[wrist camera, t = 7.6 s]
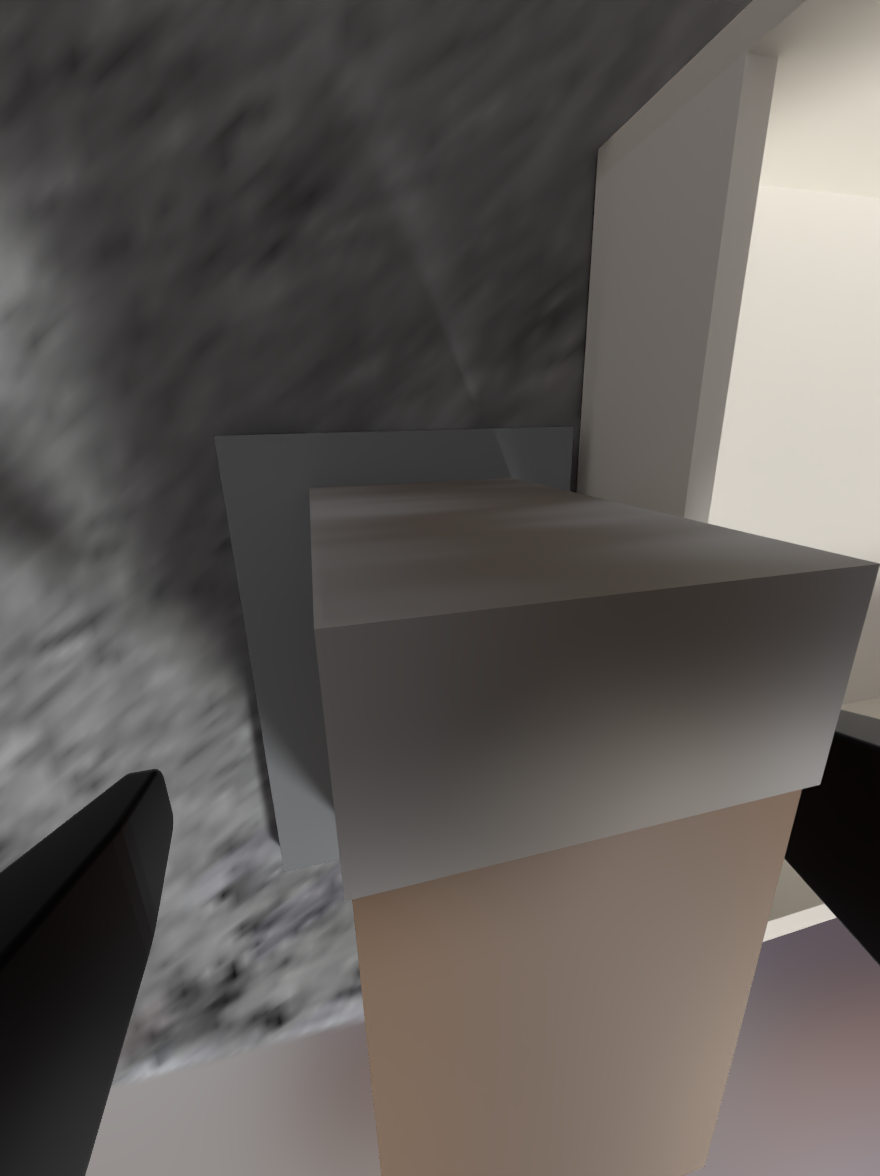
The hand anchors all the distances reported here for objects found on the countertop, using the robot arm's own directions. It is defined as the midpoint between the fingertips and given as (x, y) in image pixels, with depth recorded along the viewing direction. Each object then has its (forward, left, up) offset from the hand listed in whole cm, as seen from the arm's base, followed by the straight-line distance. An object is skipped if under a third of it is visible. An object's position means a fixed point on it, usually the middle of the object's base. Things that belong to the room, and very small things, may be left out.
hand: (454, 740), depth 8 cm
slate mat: (0, 0, -4) cm, 4 cm away
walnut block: (0, 0, -3) cm, 3 cm away
